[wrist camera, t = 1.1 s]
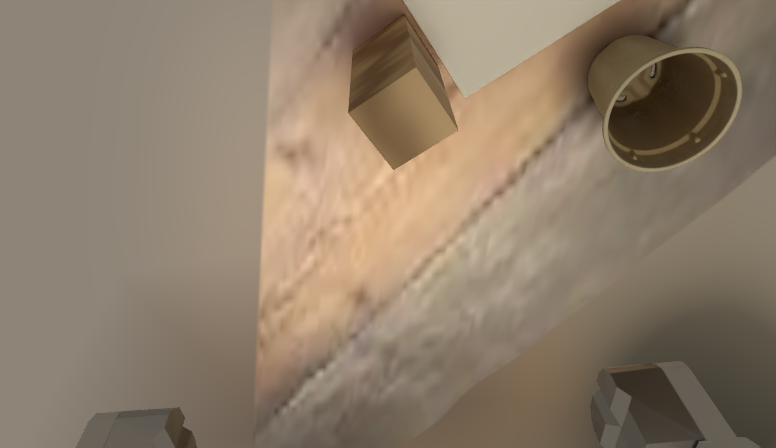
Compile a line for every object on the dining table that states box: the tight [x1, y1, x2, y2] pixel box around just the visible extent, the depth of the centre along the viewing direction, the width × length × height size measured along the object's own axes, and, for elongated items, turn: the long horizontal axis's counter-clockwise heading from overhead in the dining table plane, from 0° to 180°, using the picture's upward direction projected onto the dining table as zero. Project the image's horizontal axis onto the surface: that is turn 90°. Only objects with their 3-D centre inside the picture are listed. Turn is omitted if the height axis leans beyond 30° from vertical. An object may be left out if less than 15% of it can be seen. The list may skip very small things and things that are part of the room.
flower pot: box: [588, 35, 742, 172], centre depth 40 cm, size 9×9×9 cm
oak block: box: [348, 14, 458, 170], centre depth 37 cm, size 5×5×12 cm
